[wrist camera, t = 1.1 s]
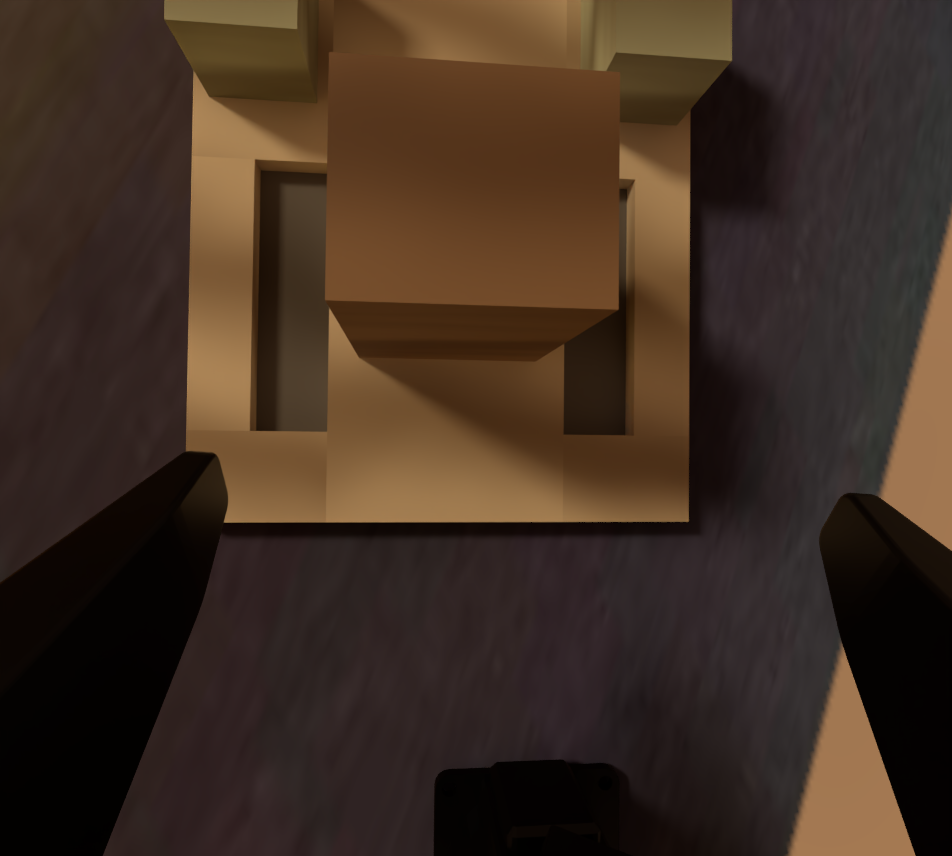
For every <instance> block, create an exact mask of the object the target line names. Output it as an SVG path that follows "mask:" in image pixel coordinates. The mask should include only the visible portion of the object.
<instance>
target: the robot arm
mask: <svg viewBox="0 0 952 856" xmlns="http://www.w3.org/2000/svg"><path fill="white" fill-rule="evenodd" d="M227 508H228V491H227V487H226V483H225V479H224V475H223V472H222V468H221V464H220V460H219V458H218V456H217V455H216V454H215V453H212V452H203V451H186V452H184V453H182V454H181V455H179V456H178V457H176V458H175V459H174V460H172V461H171V462H169V463H168V464H166V465H165V466H164V467H162V468H161V469H159V470H158V471H157V472H155V473H154V474H152V475H151V476H150V477H148V478H147V479H145V480H144V481H143V482H141V483H140V484H138V485H137V486H135V487H134V488H133V489H131V490H130V491H128V492H127V493H126V494H124V495H123V496H121V497H120V498H119V499H117V500H116V501H114V502H113V503H112V504H110V505H109V506H107V507H106V508H105V509H103V510H102V511H100V512H99V513H97V514H96V515H95V516H93V517H92V518H90V519H89V520H88V521H86V522H85V523H83V524H82V525H81V526H79V527H78V528H76V529H75V530H74V531H72V532H71V533H69V534H68V535H67V536H65V537H64V538H62V539H61V540H59V541H58V542H57V543H55V544H54V545H52V546H51V547H50V548H48V549H47V550H45V551H44V552H43V553H41V554H40V555H38V556H37V557H36V558H34V559H33V560H31V561H30V562H28V563H27V564H26V565H24V566H23V567H21V568H20V569H19V570H17V571H16V572H14V573H13V574H12V575H10V576H9V577H7V578H6V579H5V580H3V581H2V582H0V856H103V854H104V851H105V849H106V846H107V843H108V841H109V838H110V836H111V833H112V831H113V828H114V826H115V823H116V821H117V818H118V816H119V813H120V811H121V808H122V806H123V803H124V800H125V798H126V795H127V793H128V790H129V788H130V785H131V783H132V780H133V778H134V775H135V773H136V770H137V768H138V765H139V762H140V760H141V757H142V755H143V752H144V750H145V747H146V745H147V742H148V740H149V737H150V735H151V732H152V730H153V727H154V725H155V722H156V719H157V717H158V714H159V712H160V709H161V707H162V704H163V702H164V699H165V697H166V694H167V692H168V689H169V687H170V684H171V681H172V679H173V676H174V674H175V671H176V669H177V666H178V664H179V661H180V659H181V656H182V654H183V651H184V649H185V646H186V643H187V641H188V638H189V636H190V633H191V631H192V628H193V626H194V623H195V621H196V618H197V615H198V613H199V610H200V607H201V604H202V602H203V598H204V595H205V591H206V588H207V584H208V580H209V577H210V573H211V569H212V565H213V561H214V558H215V554H216V550H217V546H218V542H219V539H220V535H221V531H222V527H223V523H224V520H225V516H226V512H227ZM819 545H820V551H821V555H822V560H823V564H824V568H825V573H826V577H827V582H828V586H829V590H830V595H831V599H832V604H833V608H834V613H835V617H836V621H837V626H838V630H839V633H840V637H841V641H842V644H843V647H844V650H845V653H846V656H847V660H848V662H849V665H850V668H851V671H852V674H853V677H854V680H855V683H856V685H857V688H858V691H859V694H860V697H861V700H862V703H863V706H864V708H865V711H866V714H867V717H868V720H869V723H870V726H871V728H872V731H873V734H874V737H875V740H876V743H877V746H878V749H879V751H880V754H881V757H882V760H883V763H884V766H885V769H886V772H887V774H888V777H889V780H890V783H891V786H892V789H893V791H894V795H895V798H896V800H897V803H898V806H899V809H900V812H901V814H902V818H903V820H904V823H905V826H906V829H907V832H908V835H909V837H910V840H911V843H912V846H913V849H914V852H915V855H916V856H952V551H951V550H950V549H948V548H947V547H945V546H944V545H943V544H941V543H940V542H939V541H937V540H936V539H935V538H933V537H932V536H930V535H929V534H928V533H927V532H925V531H924V530H923V529H921V528H920V527H918V526H917V525H916V524H915V523H913V522H912V521H910V520H909V519H908V518H906V517H905V516H904V515H902V514H901V513H900V512H898V511H897V510H896V509H894V508H893V507H892V506H890V505H889V504H888V503H886V502H885V501H883V500H882V499H881V498H879V497H878V496H875V495H872V494H860V493H847V494H844V495H843V496H841V497H840V499H839V500H838V502H837V504H836V505H835V507H834V509H833V510H832V512H831V514H830V516H829V517H828V519H827V521H826V522H825V524H824V526H823V528H822V530H821V533H820V537H819ZM602 776H609V779H608V781H607V782H606V783H605V784H598V782H599V779H600V778H601V777H602ZM448 782H452V783H454V784H455V785H456V786H455V788H454V789H453V790H451V791H446V790H444V789H443V786H444V785H445V784H446V783H448ZM434 856H631V855H629V854H626V853H624V852H621V851H619V779H618V776H617V774H616V773H615V771H614V770H613V768H612V767H611V766H610V765H608V764H604V763H593V764H567V763H566V762H565V761H564V760H540V761H514V762H497V763H495V764H494V765H493V766H492V767H491V768H468V769H448V770H444V771H442V772H441V773H439V774H438V776H437V777H436V780H435V786H434Z"/></svg>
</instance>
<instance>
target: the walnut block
mask: <svg viewBox="0 0 952 856" xmlns="http://www.w3.org/2000/svg"><path fill="white" fill-rule="evenodd" d="M619 162H620V72H610V71H596V70H582V69H567V68H553V67H539V66H524V65H510V64H496V63H482V62H467V61H453V60H439V59H424V58H410V57H396V56H381V55H367V54H353V53H339V52H329V78H328V141H327V204H326V268H325V301H326V303H327V304H328V306H329V308H330V310H331V311H332V313H333V315H334V316H335V318H336V320H337V321H338V323H339V325H340V327H341V328H342V330H343V332H344V333H345V335H346V337H347V338H348V340H349V342H350V343H351V345H352V347H353V349H354V350H355V352H356V354H357V355H358V357H359V358H402V359H444V360H487V361H529V362H536V361H537V360H539V359H541V358H542V357H544V356H545V355H547V354H549V353H550V352H552V351H553V350H555V349H557V348H558V347H560V346H561V345H563V344H565V343H566V342H568V341H569V340H571V339H573V338H574V337H576V336H577V335H579V334H581V333H582V332H584V331H585V330H587V329H588V328H590V327H592V326H593V325H595V324H596V323H598V322H600V321H601V320H603V319H604V318H606V317H608V316H609V315H611V314H612V313H614V312H616V311H617V310H619Z"/></svg>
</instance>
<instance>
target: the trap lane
mask: <svg viewBox="0 0 952 856" xmlns="http://www.w3.org/2000/svg"><path fill="white" fill-rule="evenodd" d="M164 20H165V22H166V23H167V25H168V27H169V28H170V30H171V32H172V34H173V35H174V37H175V39H176V41H177V42H178V44H179V46H180V48H181V49H182V51H183V53H184V54H185V56H186V58H187V60H188V61H189V63H190V65H191V67H192V68H193V70H194V79H193V129H192V178H191V228H190V277H189V327H188V377H187V426H186V451H203V452H212V453H215V454H216V455H217V456H218V458H219V460H220V464H221V468H222V472H223V475H224V479H225V483H226V487H227V491H228V508H227V512H226V516H225V520H224V523H239V522H689V322H690V109H691V108H692V107H693V106H694V105H695V104H696V102H697V101H698V100H699V99H700V98H701V96H702V95H703V94H704V93H705V92H706V91H707V89H708V88H709V87H710V86H711V85H712V84H713V82H714V81H715V80H716V79H717V78H718V76H719V75H720V74H721V73H722V72H723V71H724V69H725V68H726V67H727V66H728V65H729V64H730V62H731V61H732V0H165V6H164ZM329 52H339V53H353V54H367V55H381V56H396V57H410V58H424V59H439V60H453V61H467V62H482V63H496V64H510V65H524V66H539V67H553V68H567V69H582V70H596V71H610V72H620V162H619V310H617V311H616V312H614V313H612V314H611V315H609V316H608V317H606V318H604V319H603V320H601V321H600V322H598V323H596V324H595V325H593V326H592V327H590V328H588V329H587V330H585V331H584V332H582V333H581V334H579V335H577V336H576V337H574V338H573V339H571V340H569V341H568V342H566V343H565V344H563V345H561V346H560V347H558V348H557V349H555V350H553V351H552V352H550V353H549V354H547V355H545V356H544V357H542V358H541V359H539V360H537V361H536V362H529V361H487V360H444V359H402V358H359V357H358V355H357V354H356V352H355V350H354V349H353V347H352V345H351V343H350V342H349V340H348V338H347V337H346V335H345V333H344V332H343V330H342V328H341V327H340V325H339V323H338V321H337V320H336V318H335V316H334V315H333V313H332V311H331V310H330V308H329V306H328V304H327V303H326V301H325V268H326V204H327V141H328V78H329Z"/></svg>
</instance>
